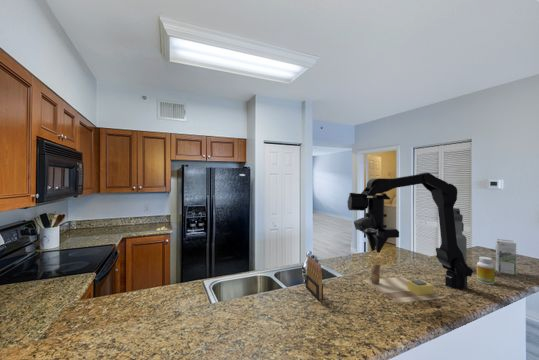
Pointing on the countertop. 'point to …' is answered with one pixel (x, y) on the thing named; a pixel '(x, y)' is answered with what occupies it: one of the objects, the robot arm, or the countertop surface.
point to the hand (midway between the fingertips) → (375, 251)
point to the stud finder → (420, 287)
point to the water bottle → (460, 233)
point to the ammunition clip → (314, 279)
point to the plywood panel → (400, 290)
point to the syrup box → (506, 256)
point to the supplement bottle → (485, 271)
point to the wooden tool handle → (375, 273)
